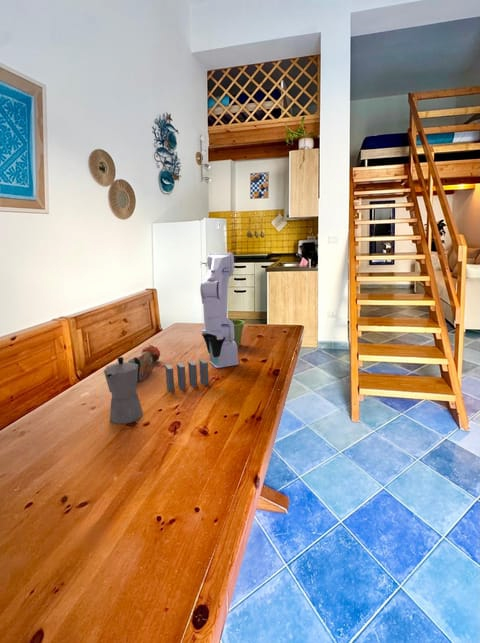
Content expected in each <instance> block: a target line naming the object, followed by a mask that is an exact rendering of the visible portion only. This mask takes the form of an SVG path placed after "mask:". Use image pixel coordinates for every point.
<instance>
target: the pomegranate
mask: <svg viewBox="0 0 480 643" xmlns="http://www.w3.org/2000/svg"><path fill="white" fill-rule="evenodd" d="M147 351H149V352H151V354H152V356H153V363H155V362H157V361H159V359H160V356H161V351H160V349H159V348H158V347H157V346H154V345H151V344H150V345H148V346H145V347H144V348H143V349H142V350H141V352H147Z"/></svg>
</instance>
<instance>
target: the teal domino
mask: <svg viewBox="0 0 480 643" xmlns="http://www.w3.org/2000/svg"><path fill="white" fill-rule="evenodd" d="M209 349H210V353H209V362H210V361H211V362H212V363H213V364H214V365H217V364H219V358H218V357H213V354H212V348H211V344H210V342H209Z"/></svg>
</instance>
